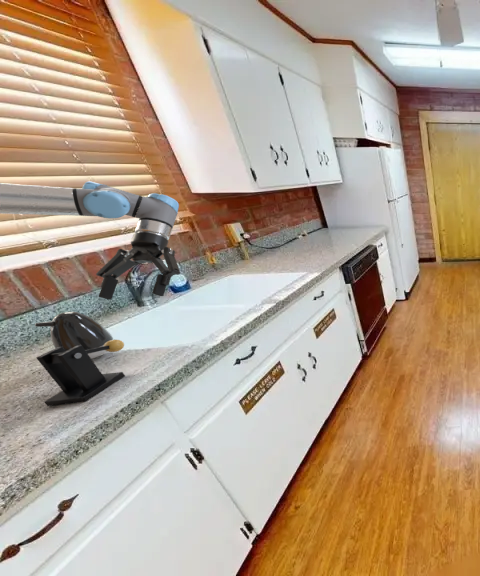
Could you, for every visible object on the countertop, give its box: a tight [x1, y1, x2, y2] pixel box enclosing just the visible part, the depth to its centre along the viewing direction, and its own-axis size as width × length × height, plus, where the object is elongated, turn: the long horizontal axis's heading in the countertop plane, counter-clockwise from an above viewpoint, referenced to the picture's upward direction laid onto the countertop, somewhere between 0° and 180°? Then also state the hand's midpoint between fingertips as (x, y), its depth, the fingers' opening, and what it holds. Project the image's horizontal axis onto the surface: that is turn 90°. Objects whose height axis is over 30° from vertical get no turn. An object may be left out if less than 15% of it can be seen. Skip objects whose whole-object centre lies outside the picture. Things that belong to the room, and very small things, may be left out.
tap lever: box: [50, 339, 125, 364], centre depth 80 cm, size 14×4×4 cm, turn 11°
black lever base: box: [36, 345, 126, 407], centre depth 76 cm, size 10×8×13 cm
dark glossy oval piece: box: [34, 311, 114, 360], centre depth 89 cm, size 10×10×15 cm
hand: (131, 296), depth 91 cm, fingers open, 13 cm apart
